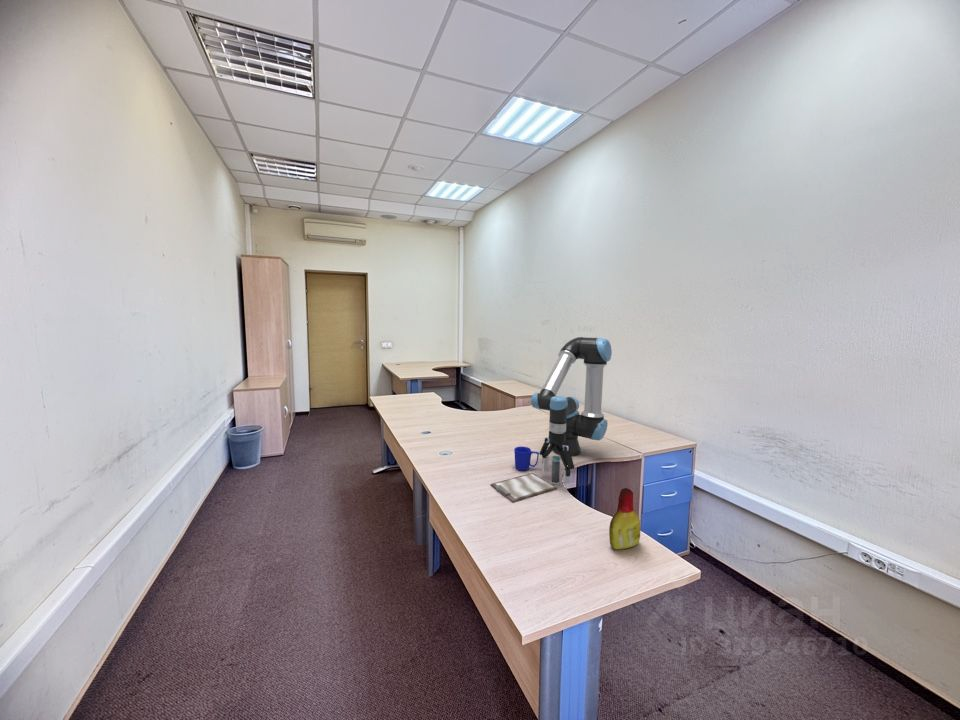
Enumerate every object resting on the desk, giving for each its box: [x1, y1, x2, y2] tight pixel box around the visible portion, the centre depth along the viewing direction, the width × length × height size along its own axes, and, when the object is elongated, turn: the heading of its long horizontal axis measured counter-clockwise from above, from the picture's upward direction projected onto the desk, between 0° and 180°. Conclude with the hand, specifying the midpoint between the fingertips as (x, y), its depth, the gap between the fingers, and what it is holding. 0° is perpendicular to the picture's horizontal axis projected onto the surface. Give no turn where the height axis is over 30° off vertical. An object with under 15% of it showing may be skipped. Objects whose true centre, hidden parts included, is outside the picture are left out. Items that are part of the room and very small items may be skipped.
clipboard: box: [489, 472, 558, 504], centre depth 160 cm, size 24×17×2 cm
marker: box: [551, 455, 561, 486], centre depth 164 cm, size 4×4×12 cm
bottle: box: [608, 487, 641, 550], centre depth 119 cm, size 12×6×20 cm, turn 111°
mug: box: [513, 446, 540, 472], centre depth 179 cm, size 8×12×10 cm
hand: (555, 476), depth 164 cm, fingers open, 13 cm apart
